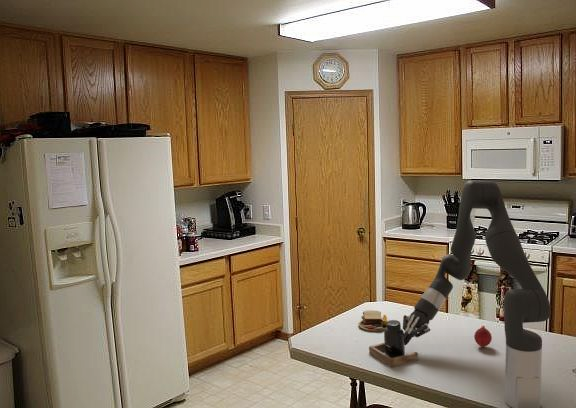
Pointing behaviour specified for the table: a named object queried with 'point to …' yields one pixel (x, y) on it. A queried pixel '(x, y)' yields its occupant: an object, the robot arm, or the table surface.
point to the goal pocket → (392, 362)
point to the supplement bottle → (394, 339)
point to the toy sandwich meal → (373, 321)
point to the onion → (483, 337)
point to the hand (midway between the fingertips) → (402, 343)
